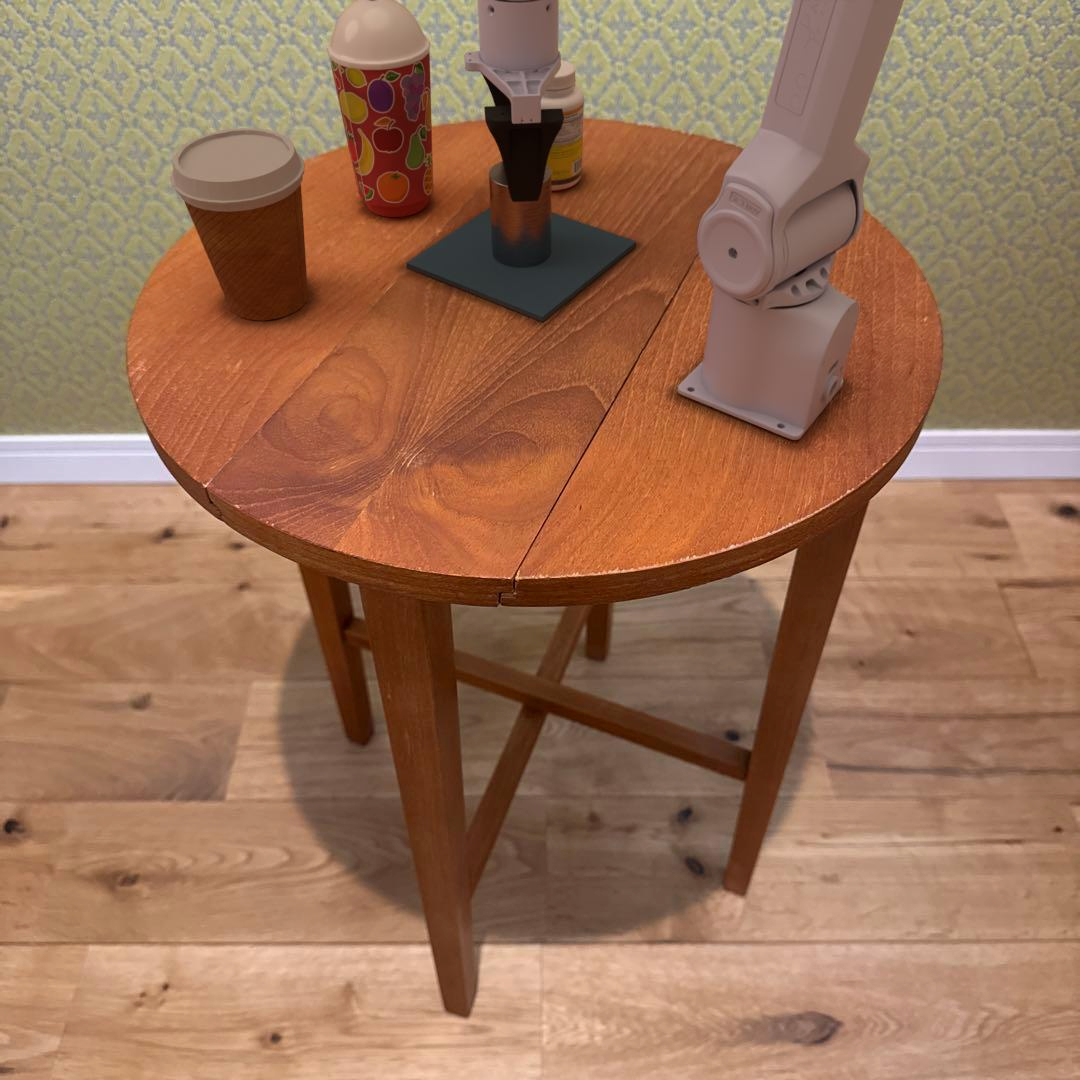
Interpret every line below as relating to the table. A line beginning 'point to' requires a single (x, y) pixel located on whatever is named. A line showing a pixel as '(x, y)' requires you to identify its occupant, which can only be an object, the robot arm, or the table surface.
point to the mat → (523, 289)
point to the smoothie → (385, 104)
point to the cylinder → (519, 222)
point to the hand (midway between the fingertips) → (521, 176)
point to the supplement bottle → (565, 127)
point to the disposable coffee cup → (248, 216)
